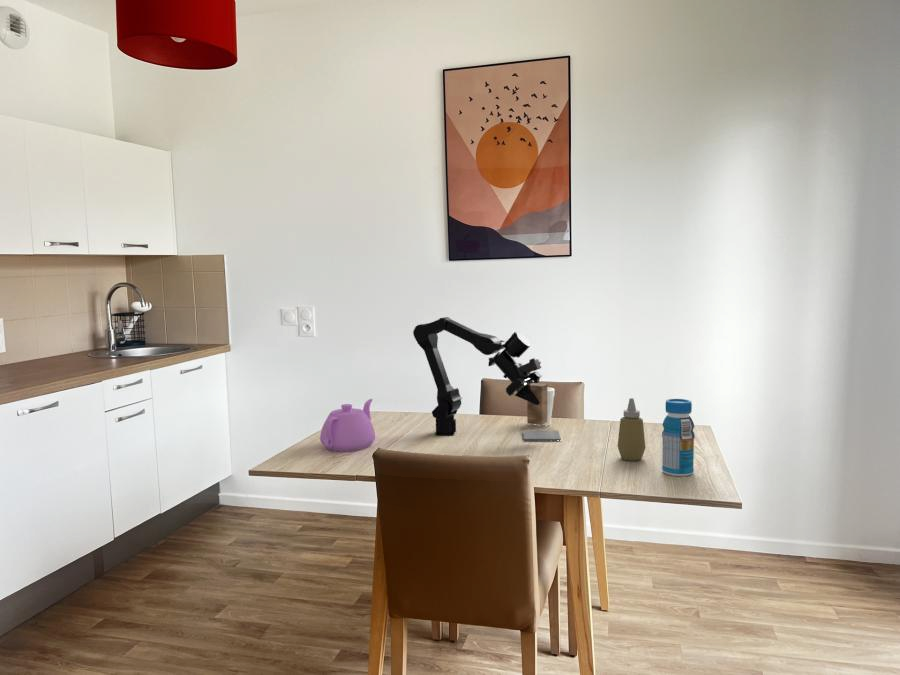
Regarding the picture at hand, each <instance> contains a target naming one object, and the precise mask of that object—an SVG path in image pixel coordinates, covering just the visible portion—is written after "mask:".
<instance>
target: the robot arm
mask: <svg viewBox="0 0 900 675" xmlns="http://www.w3.org/2000/svg"><path fill="white" fill-rule="evenodd" d="M443 331H445V332H447V333H450V334H452V335H453V336H455V337H458V338H460V339H462V340H464V341H466V342H468V343H470V344H471V345H472V346H473V347H474V348H475V349H476V350H477V351H479V352H480V353H482V354H483V355H485V356H490V355H493V354H495V355H494V356H493V357H491V356H490V357H488V363H487V365H488V367H492V366H494V365H495V366H496V367H498V369H499V370H500V372H502V373H503V374H504V375H503V378H505V379H508V380H509V381H510V382H511V383H510V384H508V386H507V387H506V388H505V392H506V394H507V395H508V397H512V396H514V397H517V398H520V399H522V400H525V401H526V402H527V401H529V402H531V403H533V404H535V405H538V404H539V401H538V399H537V398H536V397H535V395H534V394H533V392H532V391H531V389H530V384H531V383H540V379H541V378H542V377H543V375H542V374H541V373H540V372H539V371H538V370H541V369H542V366H541V363H542V362H541V361H540V360H539V359H538V358H537V357H533V358H531V359H529V362H526V363H525V364H523V363H522V362H517V361H516V358H520V357H521V356H522V355H523V354H524V353H525V352H526V351H527V350H528V349H530V347H531V345H532V343H531V342H530V340H529V338H527V337H525V336H524V335H523V334H521V333H519V332H518V331H514V332H513V333H512V334H511V336H510V337H509V338H508V339H507V340H501V339H500V338H499V337H498V336H495V335H492V334H487V333H482V332H478V331H476V330H474V329H472V328H470V327H468V326H466V325H464V324H461V323H459V322H458V321H455V320H453V319H452V318H450V317H448V316H446V317H440V318H438V319H436V320H434V321H432V322H431V321H430V322H429V323H428V322H427V323H421V324H417V325H416V326H415V327H414V328H413V331H412V333H413V337H414V339H415V342H417V345H418V346H419V347H420V348H421V349H422V350H423V351H424V354H425V357H426V360H427V363H428V365H429V369H430V371H431V374H432V378H433V380H434V382H435V386H436V389H437V393H436V402H437V406H436V407H435V408H434V409H433V410H432V411H431V414H432V417H433V418H435V433H434V435H436V436H454V435H455V433H456V432H457V419H456V418H455V415H456V414H457V412H458V410H459V409H460V408H461V406H462V399H463V397H462V396H461V395H460V390H459V388H458V387H457V388H456V387H453V386H452V384H451V382H450V379H449V376H448V374H447V371H446V367H445V366H444V361H443V360H442V356H441V353H440V351H439V348H438V343H439V342H438V340H439V337H438V334H439V333H441V332H443ZM501 350H502V351H501ZM500 351H501V352H500ZM515 392H516V393H515Z"/></svg>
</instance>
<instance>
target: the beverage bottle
mask: <svg viewBox="0 0 900 675" xmlns="http://www.w3.org/2000/svg"><path fill="white" fill-rule="evenodd" d="M692 405H693V403H692V401H691V400H690V399H684V398H669V399H666V400H665V413H667V415H666V417H664V419H663V421H662V427H663V429H662V432H661V438H662V467H661V471H662V472H663V473H664V474H666V475H668V476H673V477H688V476H691V475H692V474H693V475H694V455H695V454H694V453H695V452H694V450H695V449H694V448H695V447H694V446H695V442H694V441H695V439H696V438H695V432H694V429H695V423H694V421H693V419H692V417H691V416H690V414H692V412H693V411H692V409H693V408H692V407H693V406H692Z"/></svg>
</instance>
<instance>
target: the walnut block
mask: <svg viewBox="0 0 900 675" xmlns="http://www.w3.org/2000/svg"><path fill="white" fill-rule="evenodd" d="M547 387H548V383H542V382H541V383H540V382H539V383H531V384H530V389H531V391H532V392H533V394H534V395H535V397H536V398H537V399H538V401H539V404H538V405H535V404H533V403H531V402H529V401H527V400H526V402H527V403H526V404H527V412H526V413H527V415H526V416H527V417H526V418H527V419H526V422H527V424H531V425H533V424H539V425H543V424H544V423H546V422H547Z"/></svg>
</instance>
